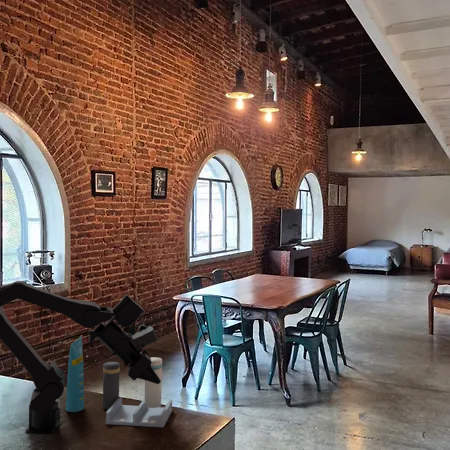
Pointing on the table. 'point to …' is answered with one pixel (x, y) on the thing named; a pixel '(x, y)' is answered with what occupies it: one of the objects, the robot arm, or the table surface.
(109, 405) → the grey bottle
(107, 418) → the slot rack
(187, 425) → the table surface
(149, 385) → the white bottle
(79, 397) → the tube
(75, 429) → the table surface
